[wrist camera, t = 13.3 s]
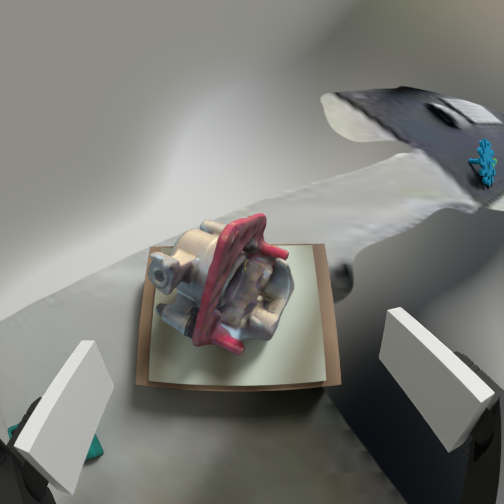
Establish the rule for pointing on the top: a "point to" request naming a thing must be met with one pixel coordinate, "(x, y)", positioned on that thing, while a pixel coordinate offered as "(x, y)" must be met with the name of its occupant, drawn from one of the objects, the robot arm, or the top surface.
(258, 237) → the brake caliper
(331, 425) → the top surface
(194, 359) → the walnut stand
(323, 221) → the top surface
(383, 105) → the top surface
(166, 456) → the top surface
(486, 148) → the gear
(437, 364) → the robot arm
